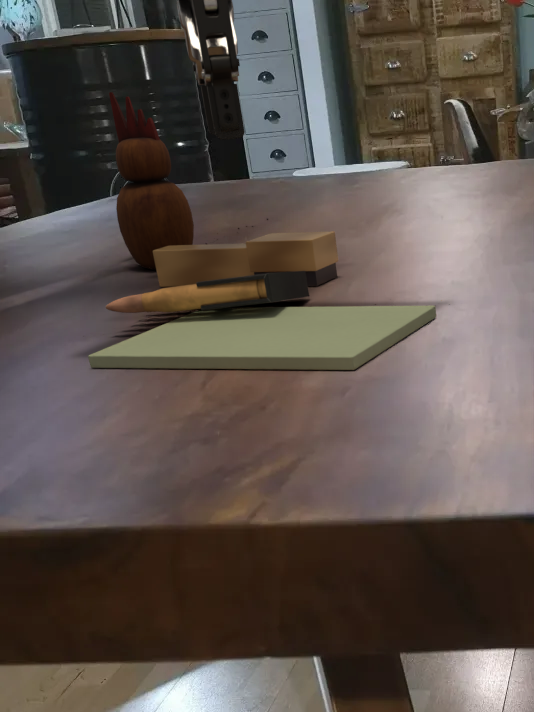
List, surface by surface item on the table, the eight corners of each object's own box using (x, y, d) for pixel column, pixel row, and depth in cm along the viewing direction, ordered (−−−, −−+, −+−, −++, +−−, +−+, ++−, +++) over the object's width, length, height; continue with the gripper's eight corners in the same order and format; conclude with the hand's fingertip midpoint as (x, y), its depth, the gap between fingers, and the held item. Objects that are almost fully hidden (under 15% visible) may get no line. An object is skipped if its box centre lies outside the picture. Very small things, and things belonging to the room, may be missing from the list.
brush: (153, 289, 94) (144, 244, 92) (181, 279, 97) (172, 236, 95) (318, 286, 89) (312, 239, 87) (340, 276, 93) (335, 231, 91)
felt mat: (90, 368, 69) (87, 355, 68) (205, 318, 80) (203, 307, 80) (354, 370, 63) (352, 356, 63) (436, 317, 75) (435, 305, 74)
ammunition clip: (267, 273, 73) (97, 293, 75) (272, 302, 74) (103, 322, 75) (305, 270, 83) (154, 288, 85) (309, 296, 84) (159, 313, 85)
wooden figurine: (117, 271, 104) (78, 94, 97) (164, 260, 108) (130, 90, 101) (164, 273, 101) (127, 90, 94) (211, 262, 105) (179, 86, 98)
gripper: (133, -90, 86) (176, 138, 93) (132, -121, 73) (182, 145, 81) (229, -95, 87) (264, 129, 95) (245, -126, 75) (284, 135, 83)
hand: (226, 136), depth 88 cm, fingers open, 8 cm apart
